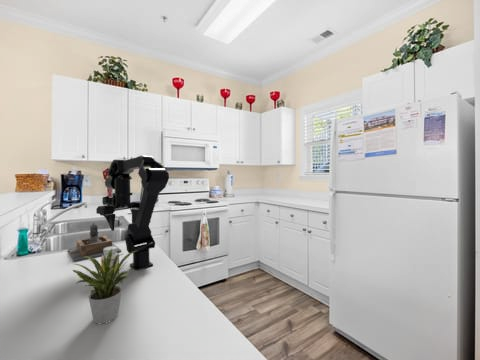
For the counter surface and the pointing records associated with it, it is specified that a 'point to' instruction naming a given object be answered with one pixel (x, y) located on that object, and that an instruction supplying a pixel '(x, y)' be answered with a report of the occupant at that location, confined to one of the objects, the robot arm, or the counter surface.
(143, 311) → the counter surface
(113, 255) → the supplement bottle
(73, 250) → the end holder
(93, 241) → the grey stone pawn figure
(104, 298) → the house plant
